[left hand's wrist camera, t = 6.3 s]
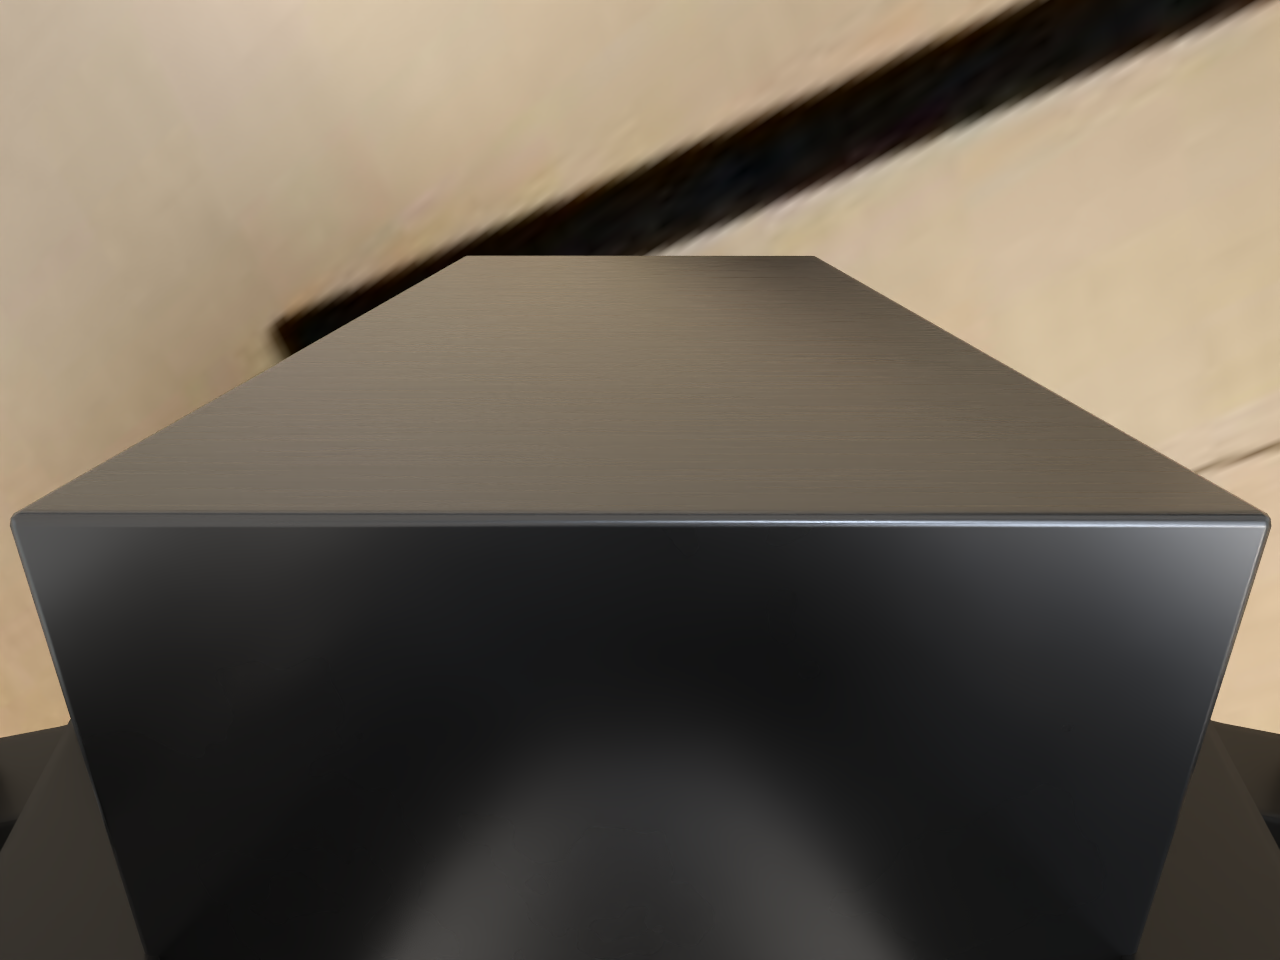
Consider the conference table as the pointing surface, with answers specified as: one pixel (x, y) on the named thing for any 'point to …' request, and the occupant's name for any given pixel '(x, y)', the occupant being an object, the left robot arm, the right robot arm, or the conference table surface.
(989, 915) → the box
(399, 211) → the conference table surface
